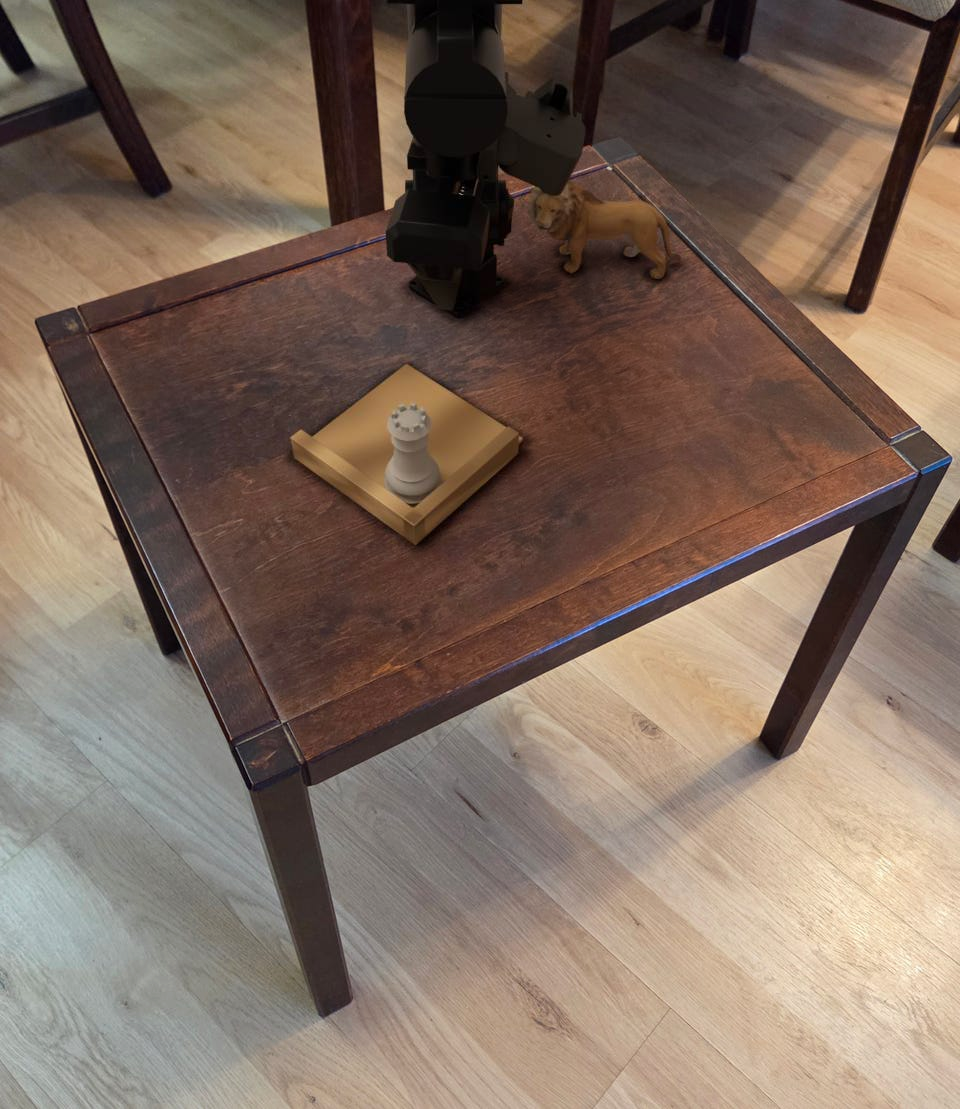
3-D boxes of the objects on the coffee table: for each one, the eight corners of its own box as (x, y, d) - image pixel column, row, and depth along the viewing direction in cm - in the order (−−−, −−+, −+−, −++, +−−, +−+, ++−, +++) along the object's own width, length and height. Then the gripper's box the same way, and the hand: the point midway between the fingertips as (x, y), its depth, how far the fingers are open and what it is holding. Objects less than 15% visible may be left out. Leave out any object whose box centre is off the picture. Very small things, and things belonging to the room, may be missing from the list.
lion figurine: (526, 283, 98) (531, 199, 90) (523, 246, 101) (527, 163, 93) (684, 280, 98) (701, 197, 91) (675, 244, 101) (692, 160, 94)
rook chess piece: (451, 475, 84) (449, 404, 77) (425, 515, 81) (422, 445, 75) (401, 456, 85) (395, 385, 78) (374, 495, 82) (366, 425, 76)
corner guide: (291, 456, 85) (287, 435, 83) (406, 366, 91) (405, 345, 89) (415, 545, 80) (414, 525, 78) (528, 444, 86) (530, 423, 84)
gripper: (568, 162, 60) (550, 365, 73) (594, 4, 71) (575, 204, 84) (376, 143, 61) (391, 347, 74) (432, -10, 72) (436, 190, 85)
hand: (456, 267), depth 79 cm, fingers open, 9 cm apart
